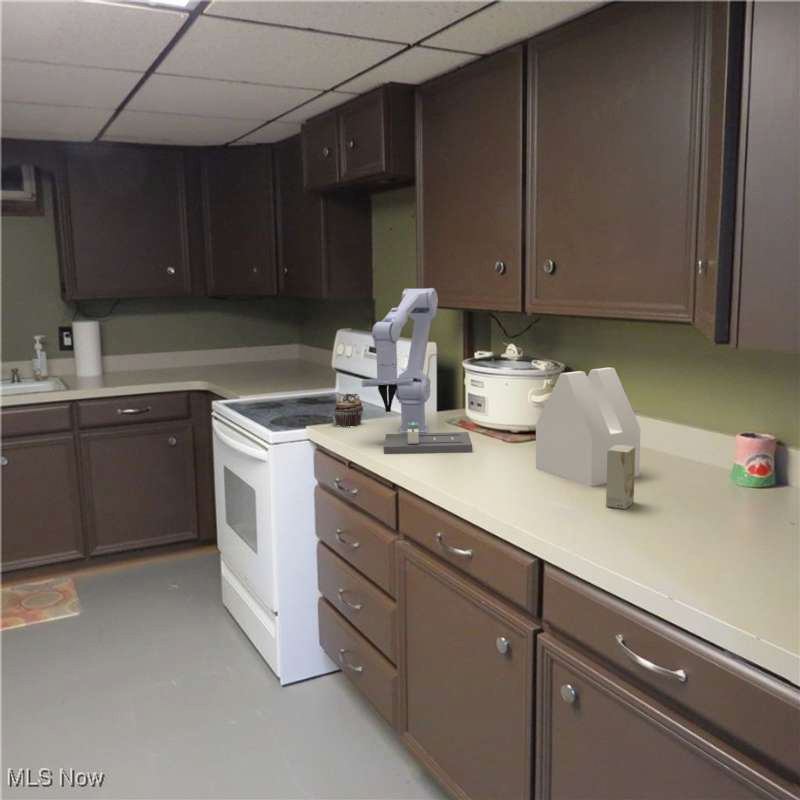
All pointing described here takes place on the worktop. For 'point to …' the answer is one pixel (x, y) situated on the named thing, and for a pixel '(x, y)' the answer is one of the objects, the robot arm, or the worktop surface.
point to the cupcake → (348, 410)
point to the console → (428, 443)
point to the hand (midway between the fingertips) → (388, 411)
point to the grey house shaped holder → (585, 426)
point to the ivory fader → (413, 436)
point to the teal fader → (412, 425)
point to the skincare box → (620, 476)
